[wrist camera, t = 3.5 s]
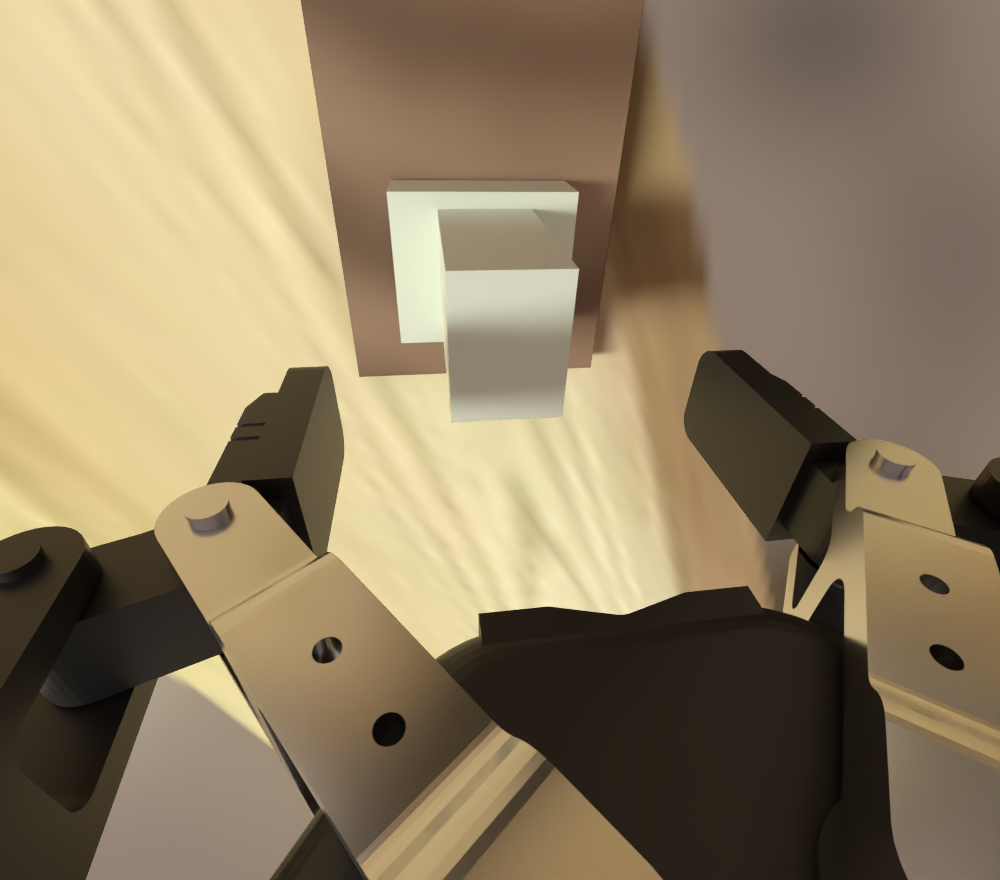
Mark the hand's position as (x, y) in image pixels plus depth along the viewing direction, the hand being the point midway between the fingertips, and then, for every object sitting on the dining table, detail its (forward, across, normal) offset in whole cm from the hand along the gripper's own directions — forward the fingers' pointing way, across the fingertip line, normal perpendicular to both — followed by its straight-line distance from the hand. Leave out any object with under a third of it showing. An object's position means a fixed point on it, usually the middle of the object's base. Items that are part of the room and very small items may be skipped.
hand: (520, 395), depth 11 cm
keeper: (+10, 0, 0) cm, 10 cm away
